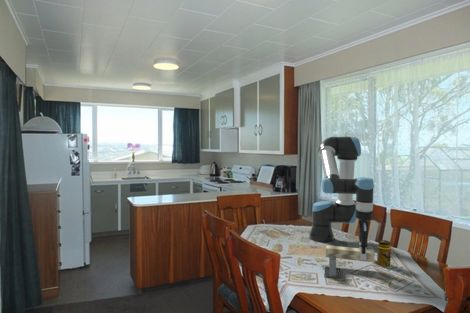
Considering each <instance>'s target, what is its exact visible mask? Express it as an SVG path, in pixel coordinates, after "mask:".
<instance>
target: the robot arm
mask: <svg viewBox="0 0 470 313" xmlns="http://www.w3.org/2000/svg"><path fill="white" fill-rule="evenodd" d="M317 152H318V156H319V158H320V159H321V166H322V170H323V175H324V178H322V179H321V191H322V192H323V193H324V194H330V195H331V194H337V199H336V200H335V203H333V202H332V201H330V200H329V201H328V200H321V201H317V202H314V203H313V205H312V210H311V211H312V222H311V223H312V224H311V229H310V232H309V235H308V236H309V239H310V240H312V241H316V242H322V243H326V242H327V243H330V242H333V241H334V240H335V234H334V232H333V227H332V223H334V224H335V223H337V224H353V223H355V222H356V221H357V220H359V221H358V228H359V231H358V232H359V236H358V241H359V243H358V244H359V245H358V248H360V260H366V253H367V249H368V239H369V238H368V236H369V234H368V233H369V221H370V220H373V216H374V215H373V210H374V187H375V185H374V182H375V181H374V179H373V178H372V177H365V176H364V177H363V176H362V177H358V178H357V177H355V163H356V162H357V161H358V157H360V156H361V155H362V146H361V141H360V140H359V138H358V137H356V136H330V137H327V138H325V139H324V140H323V141H322V142H321V143H320V145H318V150H317ZM336 157H337V160H336ZM337 161H339V168H338V165H337V164H338V163H337ZM354 195H355V196H356V198H355V200H353V198H354Z"/></svg>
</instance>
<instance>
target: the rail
mask: <svg viewBox="0 0 470 313" xmlns="http://www.w3.org/2000/svg"><path fill="white" fill-rule="evenodd" d="M328 260H329V261H328V266H324V278H331V279H341V277H342V274H341V267H340V268H339V267H337V258H336V256H329V259H328Z"/></svg>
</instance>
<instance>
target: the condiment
mask: <svg viewBox="0 0 470 313" xmlns="http://www.w3.org/2000/svg"><path fill="white" fill-rule="evenodd" d="M391 255H392V247H391V242H390V241H389V240H385V239H381V240H380V239H379V240H378V244H377V254H376V257H377V258H376V259H377V260H376V259H374V262H371V263H372V264H371V266H376V267H381V268H385V269H392V264H393V263H391V257H392V256H391Z"/></svg>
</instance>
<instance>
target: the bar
mask: <svg viewBox="0 0 470 313" xmlns="http://www.w3.org/2000/svg"><path fill="white" fill-rule="evenodd" d="M329 256H336V259H337V260H338V259H339V260H348V261H350V260H351V261H359V262H369V263H373V262H374V260H376V259H375V250H374V249H370V248H369V249H368V248H367V253H366V260H360V248H359V247H347V246H336V245H325V258H329Z"/></svg>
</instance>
